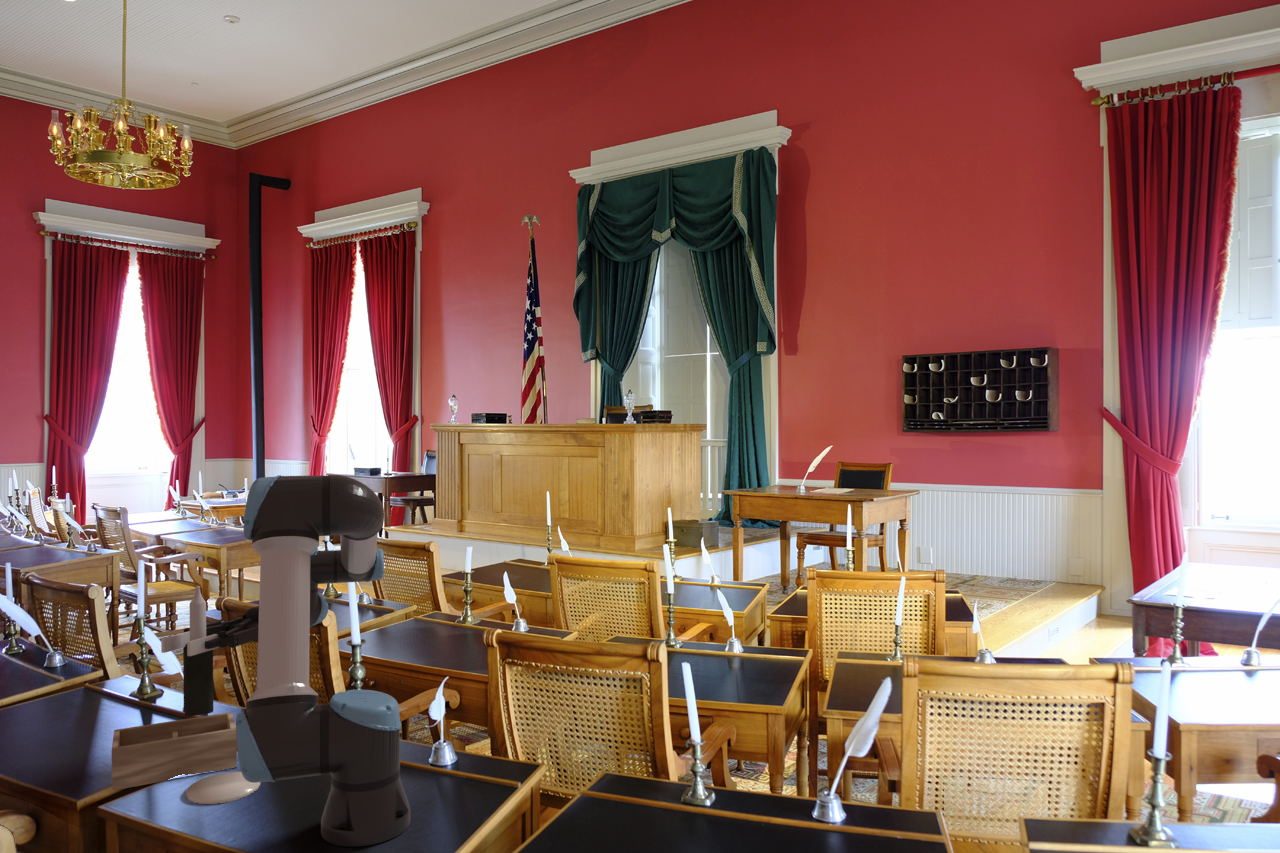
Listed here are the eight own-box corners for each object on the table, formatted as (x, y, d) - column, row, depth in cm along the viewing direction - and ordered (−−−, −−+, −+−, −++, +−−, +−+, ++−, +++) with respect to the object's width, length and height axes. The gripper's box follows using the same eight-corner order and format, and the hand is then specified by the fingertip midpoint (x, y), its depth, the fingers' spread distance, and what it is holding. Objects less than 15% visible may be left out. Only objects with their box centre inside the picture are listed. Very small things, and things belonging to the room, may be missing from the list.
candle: (213, 712, 171) (213, 586, 171) (184, 717, 169) (183, 589, 168) (211, 705, 176) (210, 582, 175) (183, 709, 173) (182, 584, 173)
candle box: (236, 767, 179) (236, 729, 178) (112, 790, 168) (111, 749, 168) (232, 748, 189) (232, 711, 189) (114, 768, 178) (114, 729, 178)
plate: (263, 795, 166) (263, 790, 166) (187, 810, 160) (187, 806, 160) (256, 770, 177) (256, 766, 177) (185, 783, 171) (185, 779, 171)
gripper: (302, 642, 185) (212, 671, 164) (234, 634, 192) (140, 661, 171) (302, 607, 185) (212, 632, 164) (234, 601, 192) (139, 623, 171)
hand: (175, 647), depth 167 cm, fingers closed on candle, 6 cm apart
